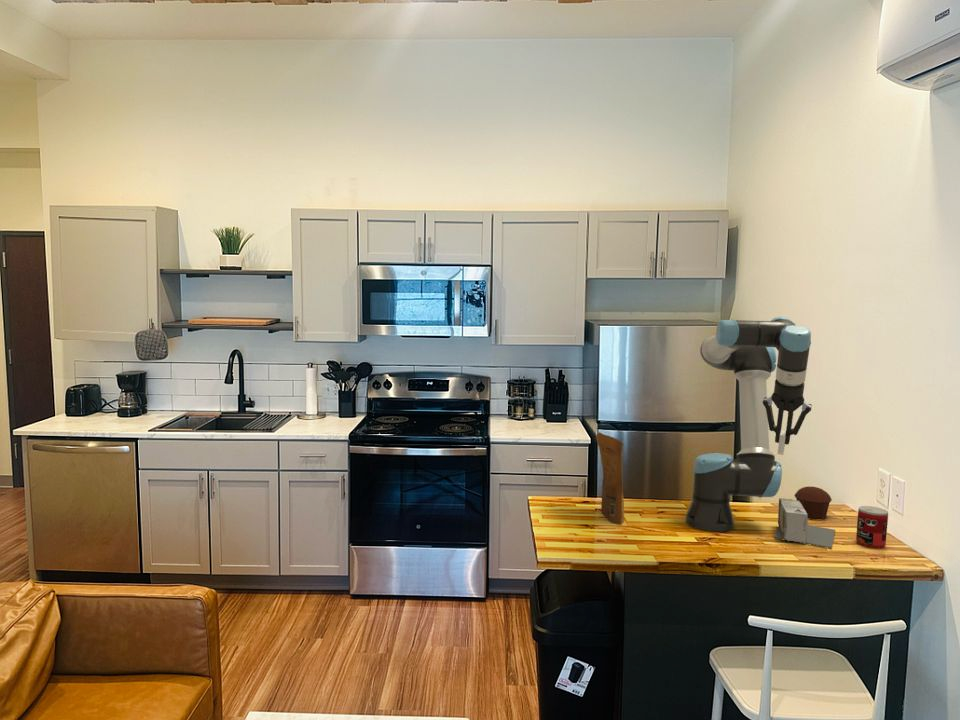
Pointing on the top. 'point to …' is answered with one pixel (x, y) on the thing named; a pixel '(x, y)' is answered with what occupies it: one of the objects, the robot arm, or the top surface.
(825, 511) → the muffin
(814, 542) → the mat
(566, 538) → the top surface
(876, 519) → the canned food
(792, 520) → the coffee box
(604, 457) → the pancake mix bag
